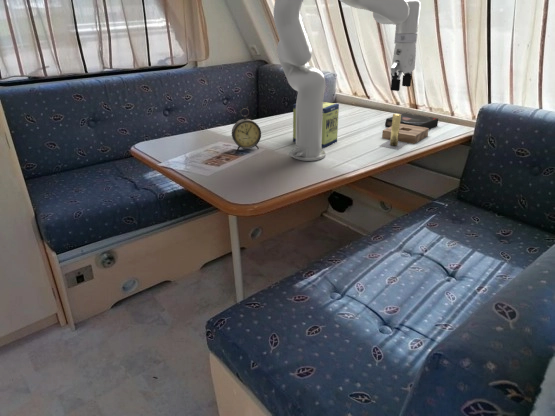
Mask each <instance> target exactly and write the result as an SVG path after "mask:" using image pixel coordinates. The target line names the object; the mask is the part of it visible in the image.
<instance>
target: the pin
mask: <svg viewBox="0 0 555 416" xmlns="http://www.w3.org/2000/svg"><path fill="white" fill-rule="evenodd" d="M401 114H402V113H401ZM401 114H400V113H393V114H392V117H393V119H392V129H391V138H390V139H389V140H390V145H391V146H397V145H398V142H399V141H398V138H399V129H400V120H401Z"/></svg>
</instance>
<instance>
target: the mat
mask: <svg viewBox="0 0 555 416" xmlns="http://www.w3.org/2000/svg"><path fill="white" fill-rule="evenodd" d="M409 144H410V143H407V142H401V141H398V145H397V146H391V145H390V139H388V141H386V142H384V143H382V144H380V145H379V147H381V148H385V149H386V148H387V149H391V150H396V151H398V150H400V149H402V148H403V147H406V146H408V145H409Z"/></svg>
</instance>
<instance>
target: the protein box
mask: <svg viewBox="0 0 555 416" xmlns="http://www.w3.org/2000/svg"><path fill="white" fill-rule="evenodd" d="M292 106H293V108H292V109H293V110H292V114H293V115H292V117H293V119H292V124H293V125H292V129H293V131H292V132H293V133H292V142H293V143H296V103H294V104H293V105H292ZM339 111H340V104H339V103H335V102H334V103H333V102H327V101H326V102H325V101H323V111H322V146H321V149H325V148H327V147H329V146H331V145H333V143H334V144H336V143H337V142H338V132H339V131H338V130H339V129H338V128H339ZM335 142H336V143H335Z"/></svg>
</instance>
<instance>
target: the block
mask: <svg viewBox="0 0 555 416" xmlns="http://www.w3.org/2000/svg"><path fill="white" fill-rule="evenodd" d="M391 129H392V126H391V127H386V128H384V129H383V130H382V135H381V138H382V139H385V140H390V138H391ZM429 131H430V129H429V128H425V127H418V126H412V125H405V124H400V129H399V138H398V142H403V143H409V144H414V145H415V144H416V143H418V142H420V141H421V140H423V139H425V138H426V137H428V136H429Z"/></svg>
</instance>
